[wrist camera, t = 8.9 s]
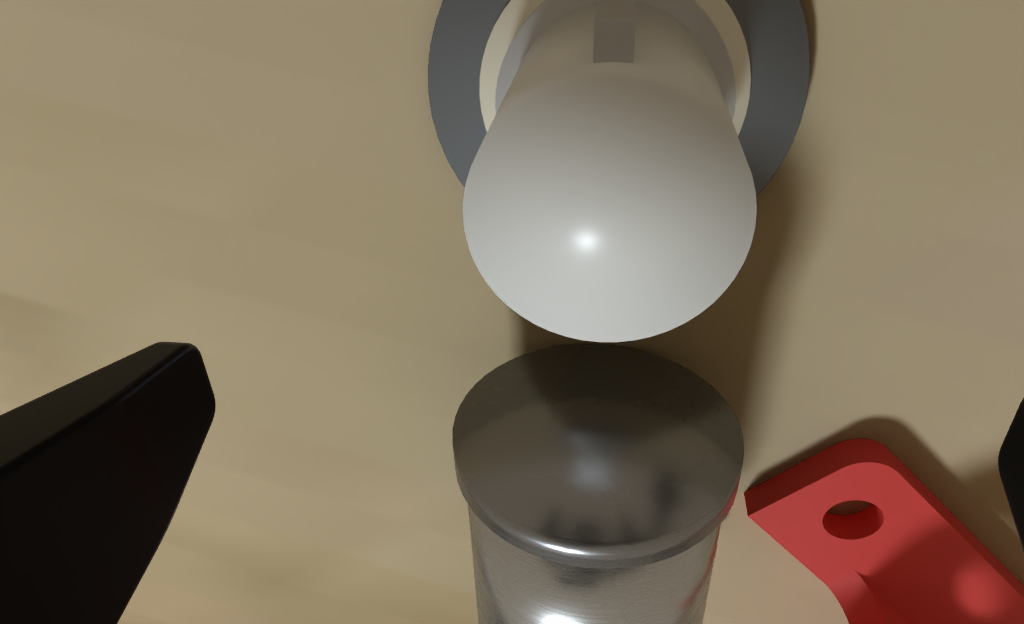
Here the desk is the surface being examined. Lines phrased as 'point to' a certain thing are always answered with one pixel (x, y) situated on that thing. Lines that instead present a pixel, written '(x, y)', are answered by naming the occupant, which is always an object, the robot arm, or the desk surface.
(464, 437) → the grey rounded block
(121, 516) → the robot arm
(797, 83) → the flange
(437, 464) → the desk surface
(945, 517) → the bracket
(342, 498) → the desk surface
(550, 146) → the white knob
